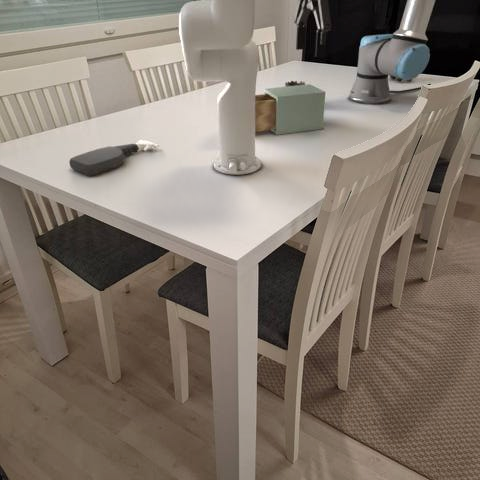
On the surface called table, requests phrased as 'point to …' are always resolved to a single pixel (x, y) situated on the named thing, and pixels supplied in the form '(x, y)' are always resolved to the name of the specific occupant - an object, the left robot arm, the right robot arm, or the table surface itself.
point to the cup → (294, 83)
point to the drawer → (265, 112)
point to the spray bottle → (106, 157)
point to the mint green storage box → (298, 108)
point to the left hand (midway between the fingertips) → (235, 83)
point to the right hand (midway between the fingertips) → (309, 52)
